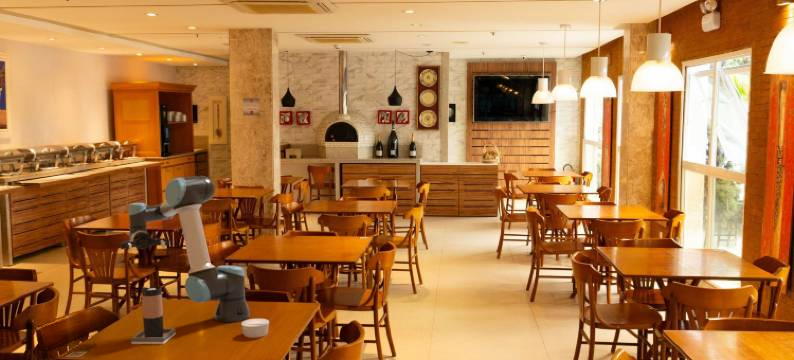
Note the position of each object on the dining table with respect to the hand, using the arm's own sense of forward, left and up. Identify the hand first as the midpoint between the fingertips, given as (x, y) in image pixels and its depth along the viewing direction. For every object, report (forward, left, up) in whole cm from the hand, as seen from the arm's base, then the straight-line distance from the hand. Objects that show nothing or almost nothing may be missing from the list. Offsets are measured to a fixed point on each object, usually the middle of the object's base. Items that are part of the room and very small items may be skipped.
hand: (147, 246), depth 312 cm
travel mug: (-9, +20, -33) cm, 40 cm away
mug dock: (-9, +20, -34) cm, 41 cm away
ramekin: (-49, +14, -34) cm, 62 cm away
